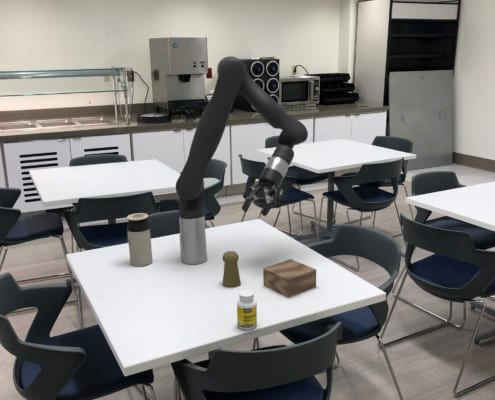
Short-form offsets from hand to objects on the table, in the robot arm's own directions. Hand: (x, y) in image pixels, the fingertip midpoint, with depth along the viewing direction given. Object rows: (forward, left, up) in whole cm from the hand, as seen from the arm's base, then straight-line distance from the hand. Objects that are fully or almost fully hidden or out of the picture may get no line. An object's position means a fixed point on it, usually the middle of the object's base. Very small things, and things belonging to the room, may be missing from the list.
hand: (253, 212), depth 171 cm
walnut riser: (+16, +2, -22) cm, 27 cm away
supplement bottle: (+27, -24, -22) cm, 43 cm away
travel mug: (-35, -25, -22) cm, 48 cm away
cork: (+2, -11, -22) cm, 25 cm away
